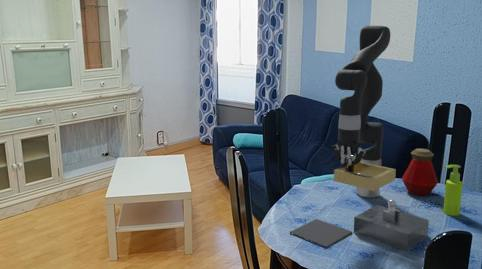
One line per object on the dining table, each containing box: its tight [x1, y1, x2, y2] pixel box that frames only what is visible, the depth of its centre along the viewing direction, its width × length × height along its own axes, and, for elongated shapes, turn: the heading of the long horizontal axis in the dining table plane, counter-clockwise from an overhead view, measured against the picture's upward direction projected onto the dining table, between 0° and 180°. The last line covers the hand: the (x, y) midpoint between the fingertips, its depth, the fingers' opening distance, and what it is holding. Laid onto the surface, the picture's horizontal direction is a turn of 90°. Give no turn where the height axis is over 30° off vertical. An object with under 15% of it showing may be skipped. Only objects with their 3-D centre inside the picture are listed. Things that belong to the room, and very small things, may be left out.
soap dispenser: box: [442, 164, 464, 217], centre depth 165 cm, size 6×7×20 cm
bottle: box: [401, 148, 439, 197], centre depth 188 cm, size 16×14×20 cm
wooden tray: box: [333, 162, 397, 191], centre depth 146 cm, size 15×15×4 cm
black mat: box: [289, 218, 353, 249], centre depth 152 cm, size 16×16×1 cm
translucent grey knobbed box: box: [353, 199, 430, 252], centre depth 149 cm, size 20×16×13 cm
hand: (347, 173), depth 151 cm, fingers closed on wooden tray
